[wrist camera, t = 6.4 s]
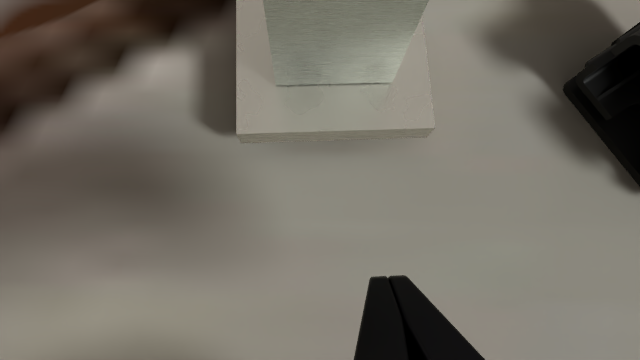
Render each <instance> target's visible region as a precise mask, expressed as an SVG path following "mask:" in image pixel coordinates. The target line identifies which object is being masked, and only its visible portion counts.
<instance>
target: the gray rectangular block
mask: <svg viewBox="0 0 640 360" xmlns="http://www.w3.org/2000/svg"><path fill="white" fill-rule="evenodd" d="M434 129H435V121H434V112H433V103H432V94H431V85H430V76H429V68H428V59H427V50H426V41H425V32H424V23H423V14H422V16H421V19H420V21H419V23H418V26H417V28H416V30H415V32H414V35H413V37H412V39H411V41H410V44H409V46H408V48H407V51H406V53H405V55H404V57H403V60H402V62H401V64H400V66H399V69H398V71H397V73H396V76H395V78H394V80H393V82H387V83H348V84H308V85H276V84H275V77H274V71H273V64H272V57H271V51H270V44H269V37H268V31H267V24H266V17H265V11H264V4H263V0H236V134H237V136H238V138H239V140H240V142H241V143H266V142H297V141H329V140H361V139H392V138H424V137H428V135H429V134H430V133H431V132H432V131H433V130H434Z"/></svg>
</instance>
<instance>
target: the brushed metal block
mask: <svg viewBox="0 0 640 360" xmlns="http://www.w3.org/2000/svg"><path fill="white" fill-rule="evenodd" d="M428 1H429V0H263V4H264V11H265V17H266V24H267V31H268V37H269V44H270V51H271V57H272V64H273V71H274V77H275V84H276V85H308V84H348V83H387V82H393V80H394V78H395V76H396V73H397V71H398V69H399V66H400V64H401V62H402V60H403V57H404V55H405V53H406V51H407V48H408V46H409V44H410V41H411V39H412V37H413V35H414V32H415V30H416V28H417V26H418V23H419V21H420V19H421V16H422V14H423V12H424V10H425V7H426V5H427V3H428Z"/></svg>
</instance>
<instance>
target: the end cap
mask: <svg viewBox="0 0 640 360" xmlns="http://www.w3.org/2000/svg"><path fill="white" fill-rule="evenodd" d="M563 91H564V93H565V95H566V96H567V97H568V99H569V100H570V101H571V102H572V104H573V105H574V106H575V107H576V108H577V110H578V111H579V112H580V113H581V115H582V116H583V117H584V118H585V120H586V121H587V122H588V123H589V124H590V126H591V127H592V128H593V129H594V131H595V132H596V133H597V134H598V136H599V137H600V138H601V139H602V140H603V142H604V143H605V144H606V145H607V147H608V148H609V149H610V150H611V152H612V153H613V154H614V155H615V157H616V158H617V159H618V160H619V161H620V163H621V164H622V165H623V166H624V168H625V169H626V170H627V171H628V173H629V174H630V175H631V176H632V177H633V179H634V180H635V181H636V182H637V184H638V185H639V186H640V22H639V23H638V24H637V25H635V26H634V27H633V28H631V29H630V30H629V31H627V32H626V33H625V34H623V35H622V36H621V37H619V38H618V39H617V40H615V41H614V42H613V43H612V44H611V47H609V48H608V49H606V50H605V51H603V52H602V53H600V54H599V55H597V56H595V57H594V58H592V59H591V60H589V61H588V62H587V63H586V65H585V69H584V70H582V71H581V72H580V73H578V75H577V76H575V77H574V78H572V79H571V80H569V81H568V82H567V83H566V84H565V85H564V89H563Z"/></svg>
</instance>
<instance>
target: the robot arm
mask: <svg viewBox="0 0 640 360" xmlns="http://www.w3.org/2000/svg"><path fill="white" fill-rule="evenodd" d="M354 360H485V359H484V358H483V357H482V356H481V355H480V354H479V353H478V352H477V351H476V350H475V348H474V347H473V346H472V345H471V344H470V343H469V342H468V341H467V340H466V339H465V338H464V337H463V336H462V335H461V334H460V332H459V331H458V330H457V329H456V328H455V327H454V326H453V325H452V324H451V323H450V322H449V321H448V320H447V319H446V318H445V317H444V315H443V314H442V313H441V312H440V311H439V310H438V309H437V308H436V307H435V306H434V305H433V304H432V303H431V302H430V301H429V299H428V298H427V297H426V296H425V295H424V294H423V293H422V292H421V291H420V290H419V289H418V288H417V287H416V286H415V285H414V284H413V282H412V281H411V280H410V279H409V278H408V277H406V276H404V275H400V276H390V277H388V278H387V277H386V276H379V277H371V278H370V280H369V285H368V290H367V295H366V300H365V305H364V311H363V316H362V321H361V326H360V331H359V336H358V341H357V346H356V351H355V356H354Z"/></svg>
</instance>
